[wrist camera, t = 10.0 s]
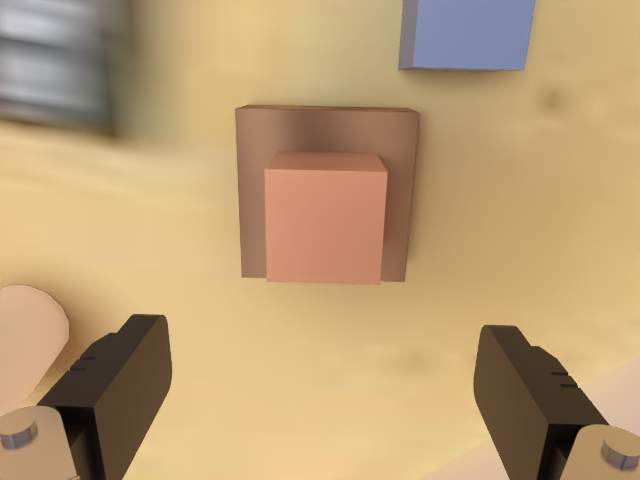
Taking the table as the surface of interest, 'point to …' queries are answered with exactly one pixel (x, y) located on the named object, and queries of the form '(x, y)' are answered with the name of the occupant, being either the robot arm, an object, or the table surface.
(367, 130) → the plinth
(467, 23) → the blue block
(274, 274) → the terracotta block
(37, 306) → the foam cup
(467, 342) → the table surface
